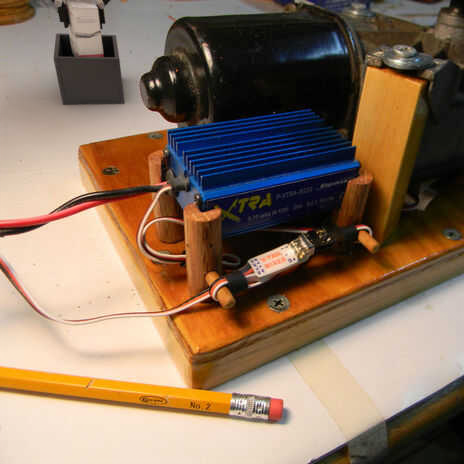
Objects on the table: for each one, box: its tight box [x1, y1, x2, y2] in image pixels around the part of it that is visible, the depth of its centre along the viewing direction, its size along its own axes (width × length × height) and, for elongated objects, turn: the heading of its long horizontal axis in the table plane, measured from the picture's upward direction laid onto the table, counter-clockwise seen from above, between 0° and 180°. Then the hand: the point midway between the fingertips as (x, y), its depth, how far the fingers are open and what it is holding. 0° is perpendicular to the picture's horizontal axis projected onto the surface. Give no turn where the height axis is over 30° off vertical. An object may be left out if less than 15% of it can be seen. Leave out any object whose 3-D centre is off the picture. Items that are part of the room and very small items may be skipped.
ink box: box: [63, 0, 104, 57], centre depth 97 cm, size 9×5×12 cm, turn 33°
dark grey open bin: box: [53, 32, 125, 105], centre depth 102 cm, size 12×14×10 cm
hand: (83, 25), depth 97 cm, fingers closed on ink box, 5 cm apart
